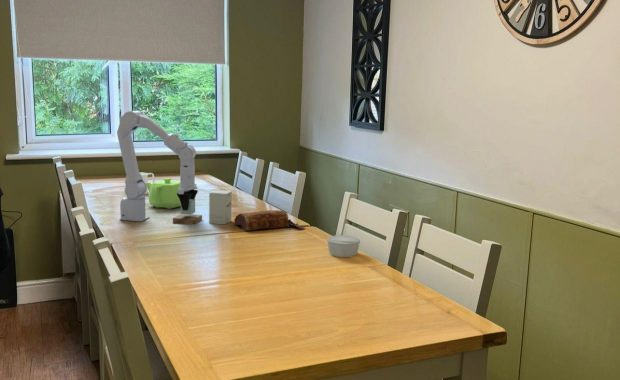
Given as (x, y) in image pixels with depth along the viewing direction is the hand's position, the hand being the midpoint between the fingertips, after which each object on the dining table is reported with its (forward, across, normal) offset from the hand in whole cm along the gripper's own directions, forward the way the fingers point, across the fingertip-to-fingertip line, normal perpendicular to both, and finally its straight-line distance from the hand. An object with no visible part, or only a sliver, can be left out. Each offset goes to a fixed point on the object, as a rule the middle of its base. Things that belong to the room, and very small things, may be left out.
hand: (187, 208), depth 242 cm
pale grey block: (+2, 0, 0) cm, 2 cm away
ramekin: (+6, -30, -68) cm, 75 cm away
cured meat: (+6, +1, -35) cm, 36 cm away
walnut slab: (+6, 0, 0) cm, 6 cm away
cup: (+6, +54, +46) cm, 71 cm away
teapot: (+6, +26, +22) cm, 34 cm away
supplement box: (+5, +3, -13) cm, 14 cm away
